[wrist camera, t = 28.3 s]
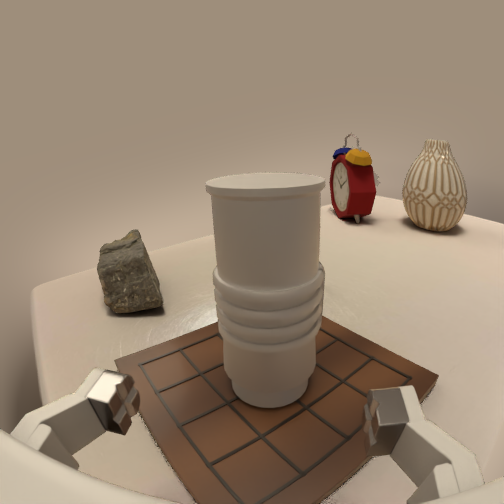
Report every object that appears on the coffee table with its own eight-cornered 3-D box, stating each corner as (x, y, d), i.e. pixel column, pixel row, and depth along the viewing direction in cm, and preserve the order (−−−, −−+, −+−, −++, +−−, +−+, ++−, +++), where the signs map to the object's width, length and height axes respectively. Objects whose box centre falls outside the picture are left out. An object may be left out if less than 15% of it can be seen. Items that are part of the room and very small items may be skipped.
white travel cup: (322, 408, 19) (343, 187, 14) (223, 414, 19) (194, 192, 14) (308, 350, 26) (313, 171, 20) (227, 354, 26) (211, 175, 21)
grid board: (435, 385, 21) (439, 374, 21) (240, 554, 10) (238, 550, 10) (282, 303, 36) (283, 293, 36) (117, 369, 25) (113, 358, 25)
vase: (439, 241, 53) (447, 140, 46) (386, 221, 67) (389, 135, 60) (473, 231, 59) (481, 146, 52) (425, 215, 73) (429, 140, 66)
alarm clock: (328, 210, 78) (328, 132, 71) (358, 209, 78) (360, 134, 71) (348, 226, 64) (350, 132, 57) (383, 225, 64) (387, 134, 57)
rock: (76, 254, 42) (129, 223, 46) (96, 290, 45) (146, 259, 50) (99, 292, 29) (175, 244, 34) (129, 339, 32) (197, 292, 37)
